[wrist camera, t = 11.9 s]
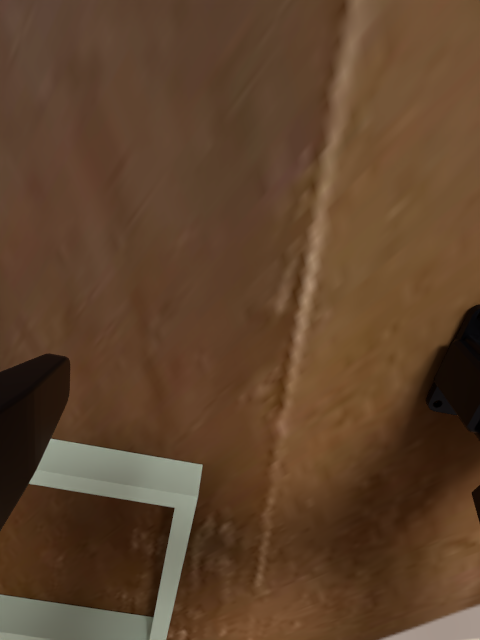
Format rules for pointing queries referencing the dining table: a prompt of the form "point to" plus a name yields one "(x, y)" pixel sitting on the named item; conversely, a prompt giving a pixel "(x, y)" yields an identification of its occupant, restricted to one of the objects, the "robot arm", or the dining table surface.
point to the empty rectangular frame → (124, 483)
